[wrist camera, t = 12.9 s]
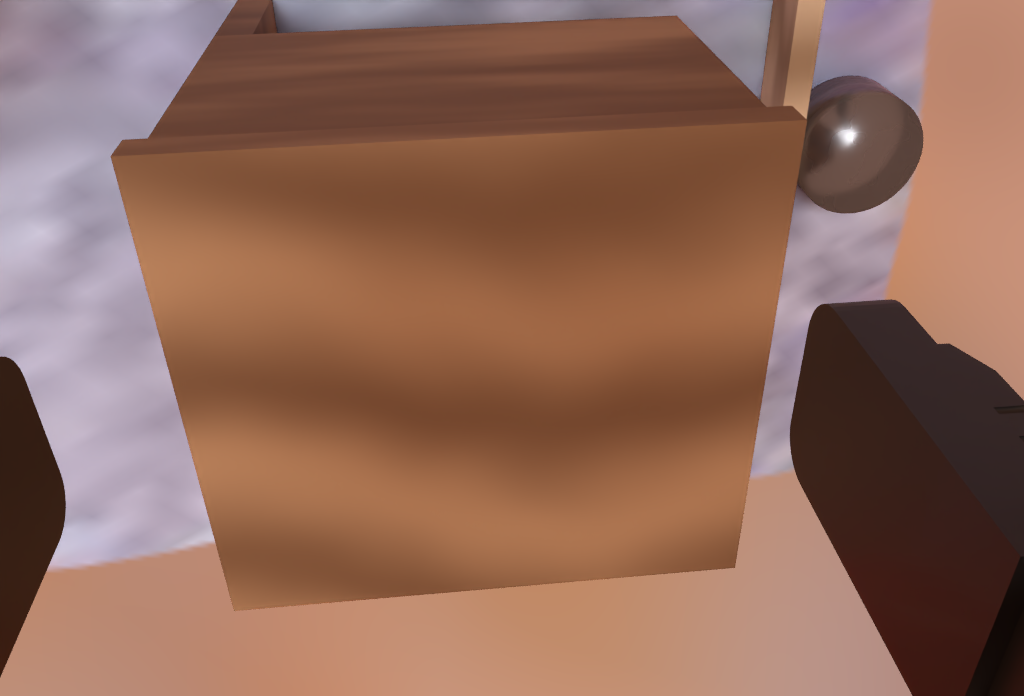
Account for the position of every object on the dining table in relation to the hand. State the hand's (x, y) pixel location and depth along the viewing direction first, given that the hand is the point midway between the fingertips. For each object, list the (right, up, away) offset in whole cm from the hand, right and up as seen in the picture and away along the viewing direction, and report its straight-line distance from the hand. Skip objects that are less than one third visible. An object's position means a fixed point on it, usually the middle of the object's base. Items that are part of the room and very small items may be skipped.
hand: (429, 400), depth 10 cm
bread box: (-2, +8, +28) cm, 30 cm away
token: (+15, +10, +29) cm, 34 cm away
